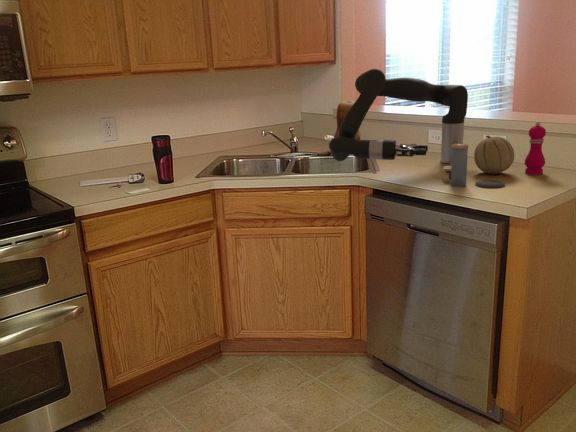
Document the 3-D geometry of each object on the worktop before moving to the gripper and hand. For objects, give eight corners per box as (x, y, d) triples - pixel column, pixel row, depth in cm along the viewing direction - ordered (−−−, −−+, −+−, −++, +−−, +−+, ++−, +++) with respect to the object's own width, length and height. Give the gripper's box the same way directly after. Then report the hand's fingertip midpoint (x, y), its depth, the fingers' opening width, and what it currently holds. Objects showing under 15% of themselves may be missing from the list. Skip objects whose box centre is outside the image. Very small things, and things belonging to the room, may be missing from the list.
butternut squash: (354, 152, 274) (353, 102, 267) (330, 150, 280) (329, 102, 273) (364, 147, 285) (364, 99, 278) (341, 146, 292) (340, 100, 285)
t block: (443, 178, 207) (443, 166, 206) (456, 178, 206) (457, 166, 204) (443, 181, 202) (443, 168, 201) (456, 182, 201) (457, 169, 200)
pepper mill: (544, 172, 209) (548, 120, 204) (544, 175, 203) (548, 122, 198) (524, 171, 212) (528, 120, 207) (523, 175, 206) (527, 122, 200)
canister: (450, 183, 199) (451, 143, 195) (466, 183, 198) (468, 143, 194) (449, 186, 194) (451, 146, 190) (466, 187, 192) (468, 146, 188)
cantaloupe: (514, 177, 202) (517, 138, 198) (473, 177, 207) (475, 138, 202) (511, 169, 216) (513, 132, 212) (472, 169, 220) (474, 133, 216)
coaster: (475, 181, 200) (475, 180, 199) (503, 182, 197) (503, 180, 197) (475, 187, 191) (475, 186, 190) (505, 188, 188) (506, 186, 187)
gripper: (380, 142, 193) (426, 142, 188) (385, 136, 206) (428, 137, 201) (379, 162, 195) (425, 163, 190) (384, 156, 208) (427, 157, 203)
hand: (427, 150), depth 196 cm, fingers open, 8 cm apart
